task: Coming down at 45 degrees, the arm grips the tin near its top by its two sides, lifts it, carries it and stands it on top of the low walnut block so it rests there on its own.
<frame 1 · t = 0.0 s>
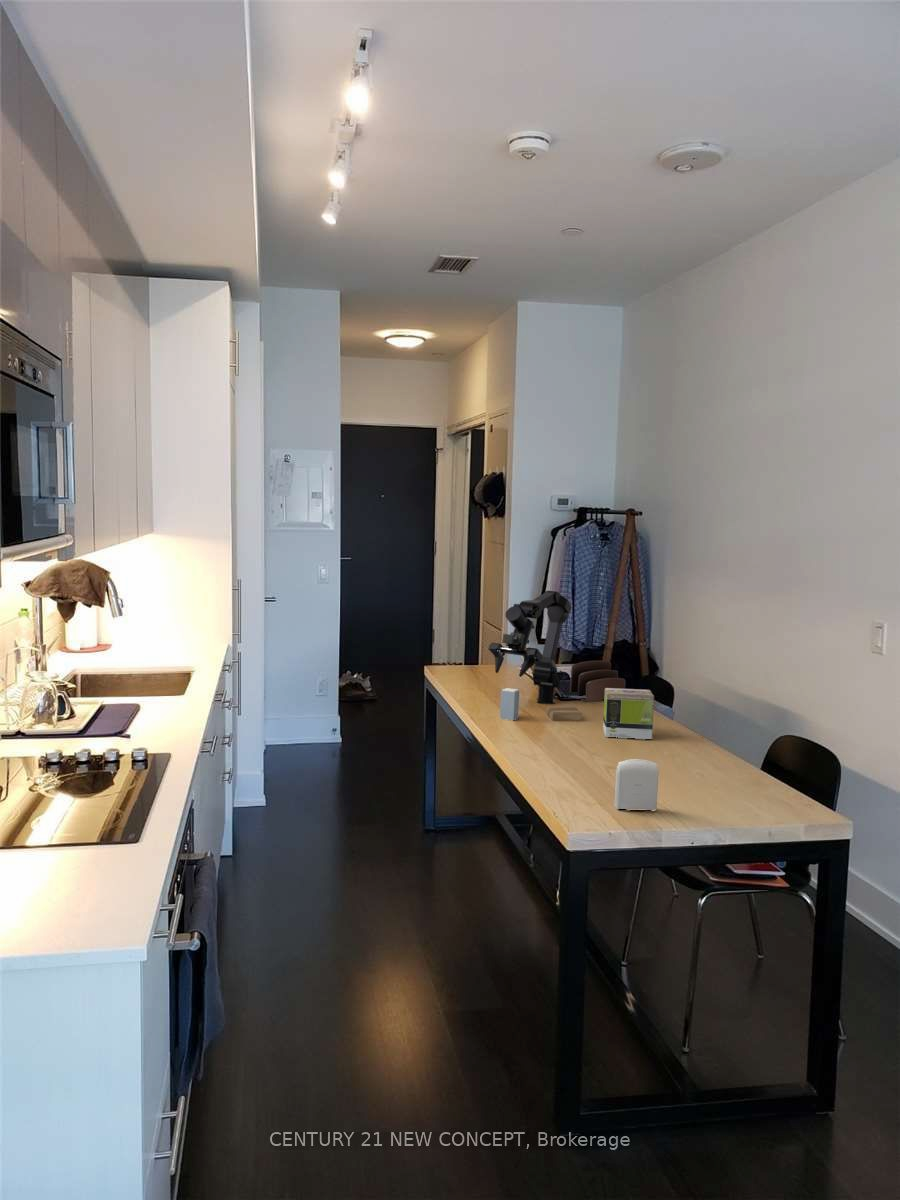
hand: (508, 674, 304), 15 cm above the table, tool tilted 35°, fingers open, 9 cm apart
tin: (508, 719, 303), on the table
block: (563, 718, 308), on the table
letter holder: (597, 698, 344), on the table
photo printer: (635, 810, 217), on the table
tea box: (626, 736, 288), on the table
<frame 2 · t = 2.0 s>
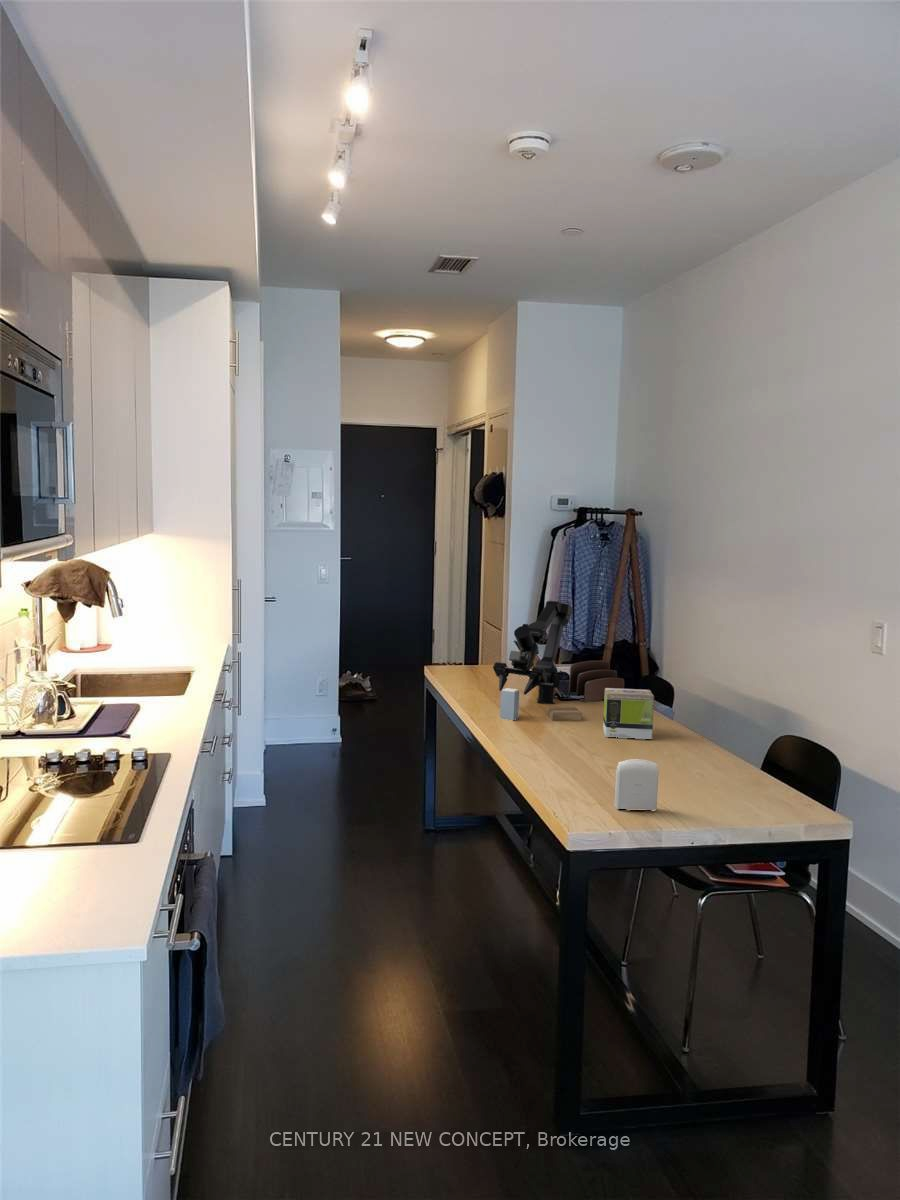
hand: (512, 692, 304), 9 cm above the table, tool tilted 45°, fingers open, 9 cm apart
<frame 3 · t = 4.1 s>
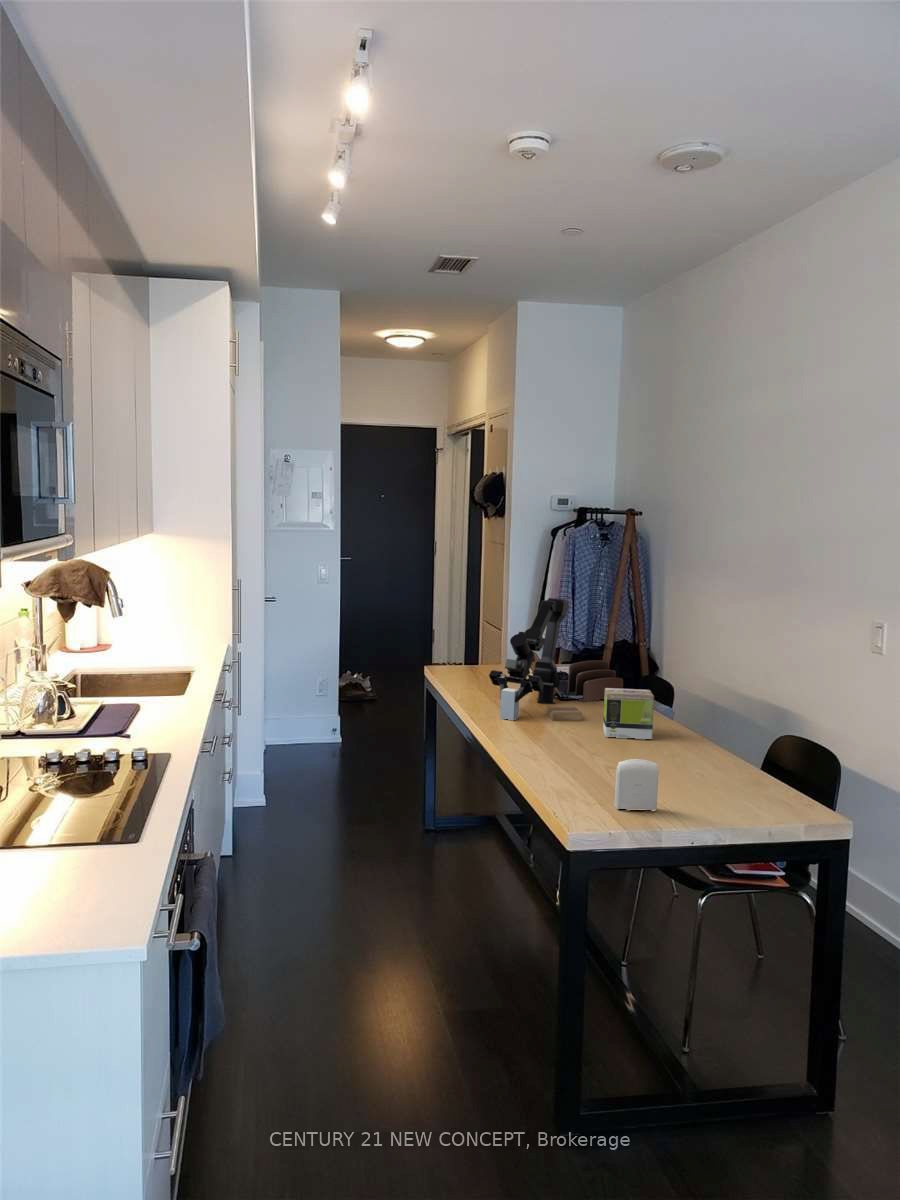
hand: (508, 700, 302), 7 cm above the table, tool tilted 45°, fingers closed on tin, 5 cm apart
tin: (508, 718, 303), on the table, touching gripper
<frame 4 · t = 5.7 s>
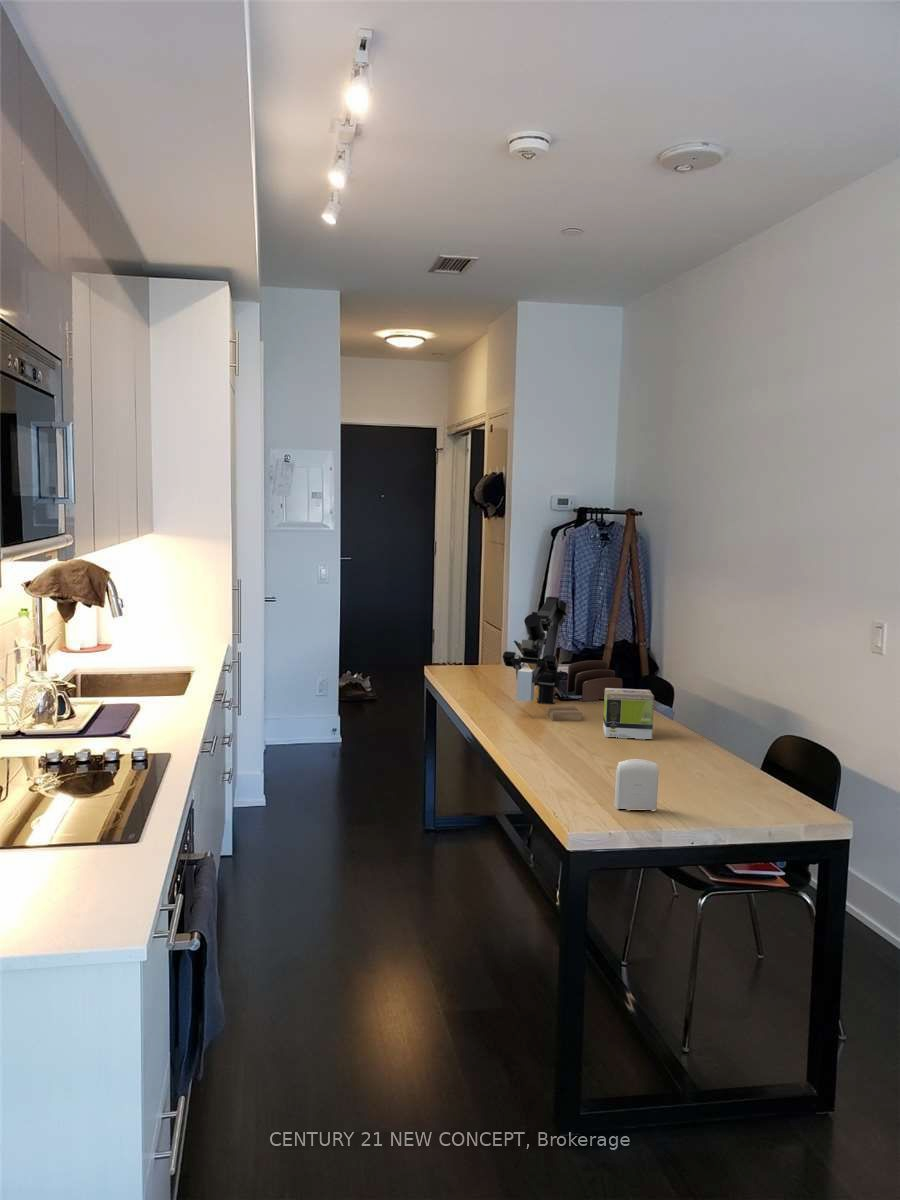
hand: (524, 681, 301), 13 cm above the table, tool tilted 45°, fingers closed on tin, 5 cm apart
tin: (525, 699, 303), point 7 cm above the table, touching gripper
when the fingers open (11 cm above the table, at t = 7.5 s): tin drops 1 cm, resting on block.
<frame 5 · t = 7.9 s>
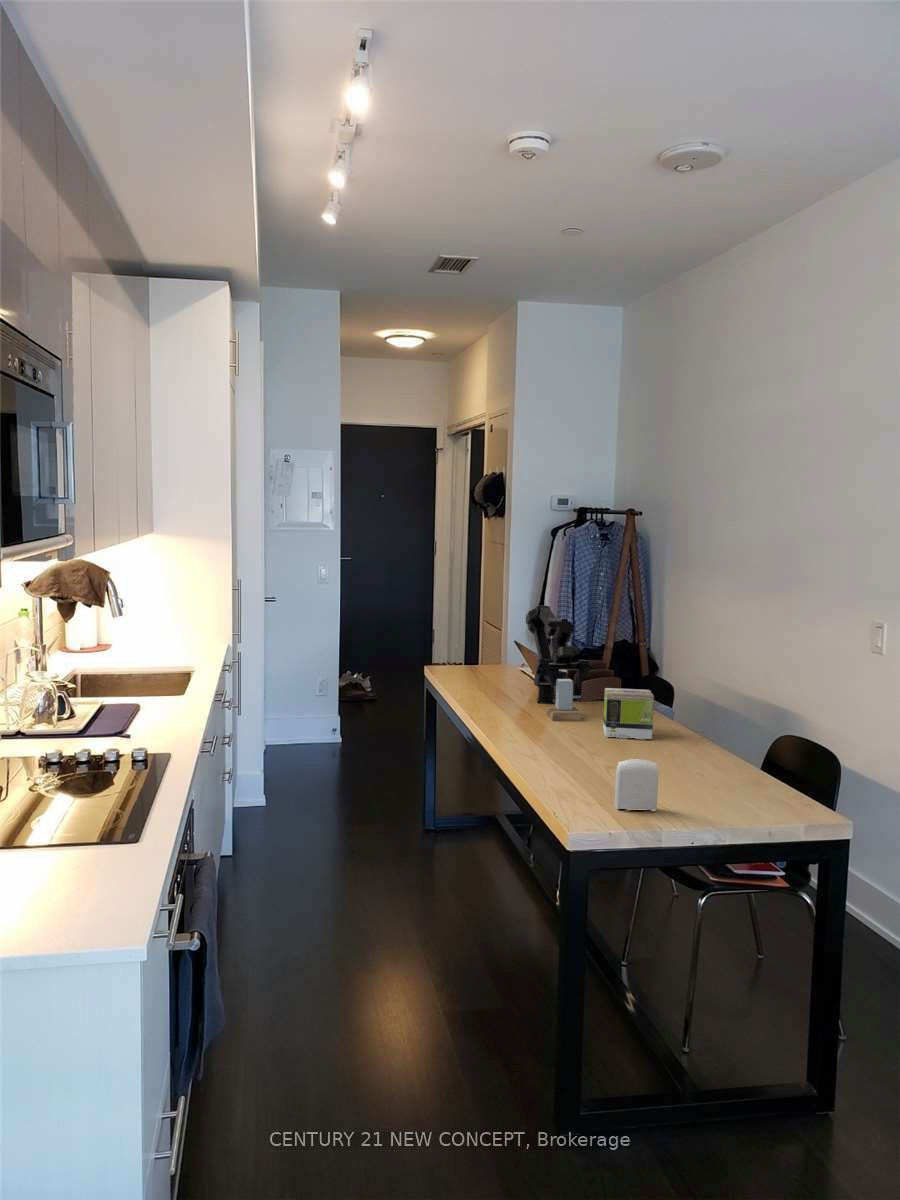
hand: (566, 687, 306), 11 cm above the table, tool tilted 45°, fingers open, 9 cm apart
tin: (563, 708, 308), point 3 cm above the table, touching block
block: (563, 719, 308), on the table, touching tin
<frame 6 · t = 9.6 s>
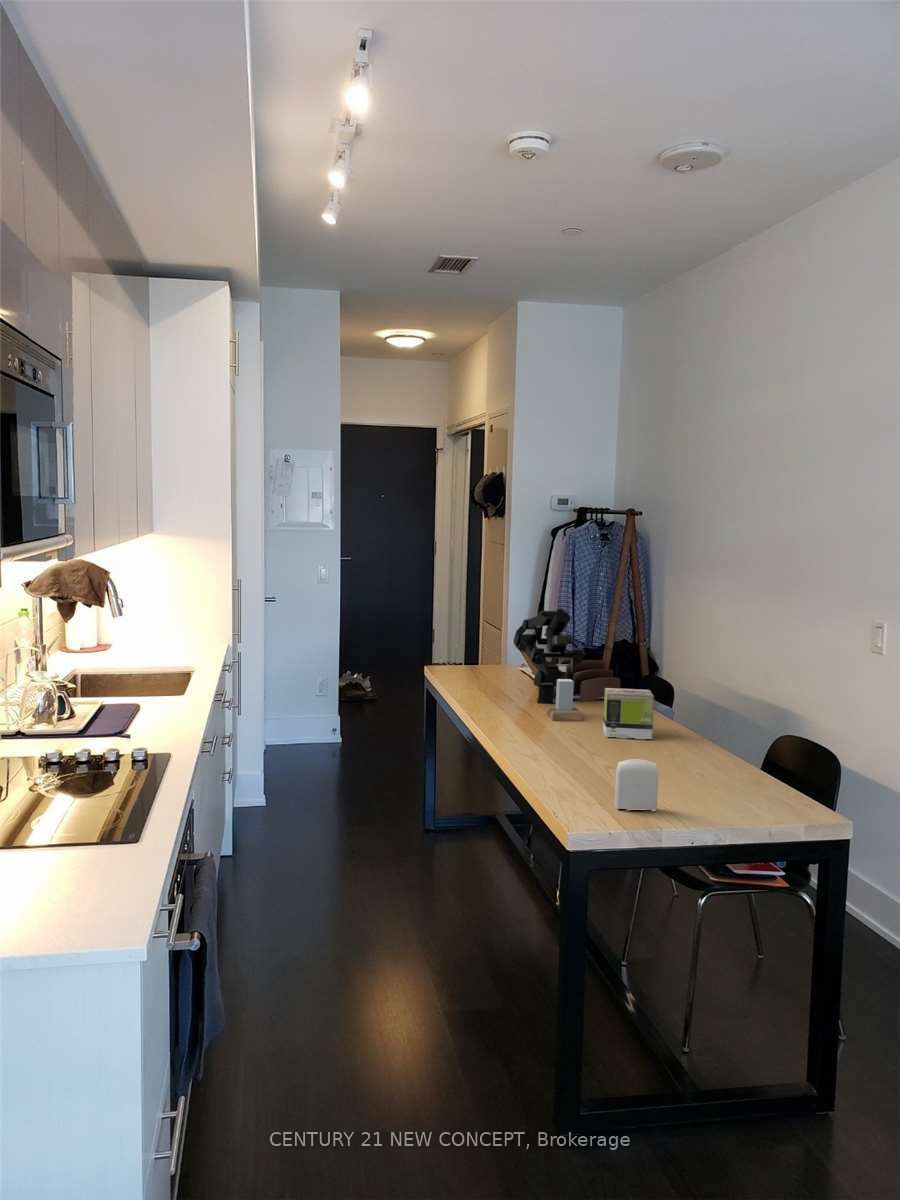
hand: (560, 675, 314), 14 cm above the table, tool tilted 45°, fingers open, 9 cm apart
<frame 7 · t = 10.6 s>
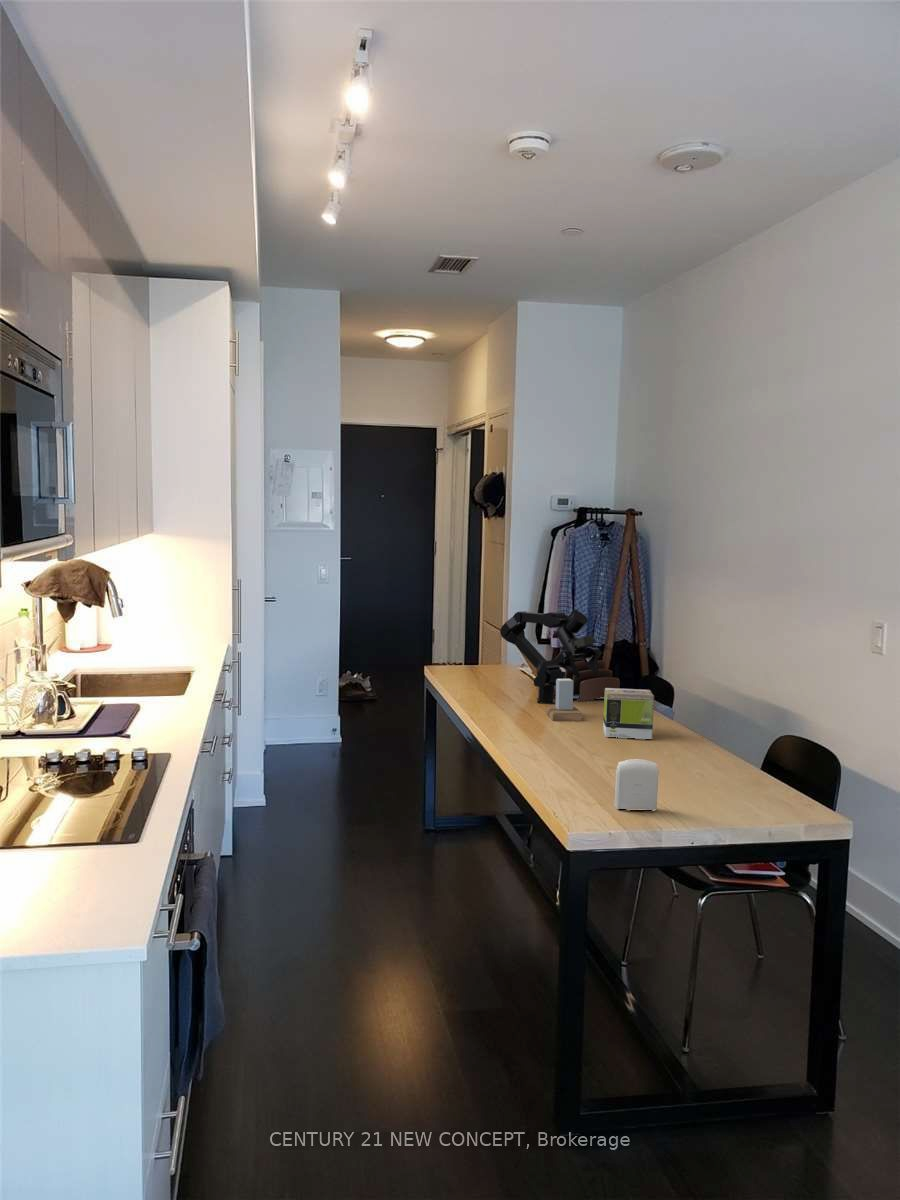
hand: (589, 676, 314), 14 cm above the table, tool tilted 45°, fingers open, 9 cm apart
tin: (564, 708, 308), point 3 cm above the table
block: (563, 719, 308), on the table
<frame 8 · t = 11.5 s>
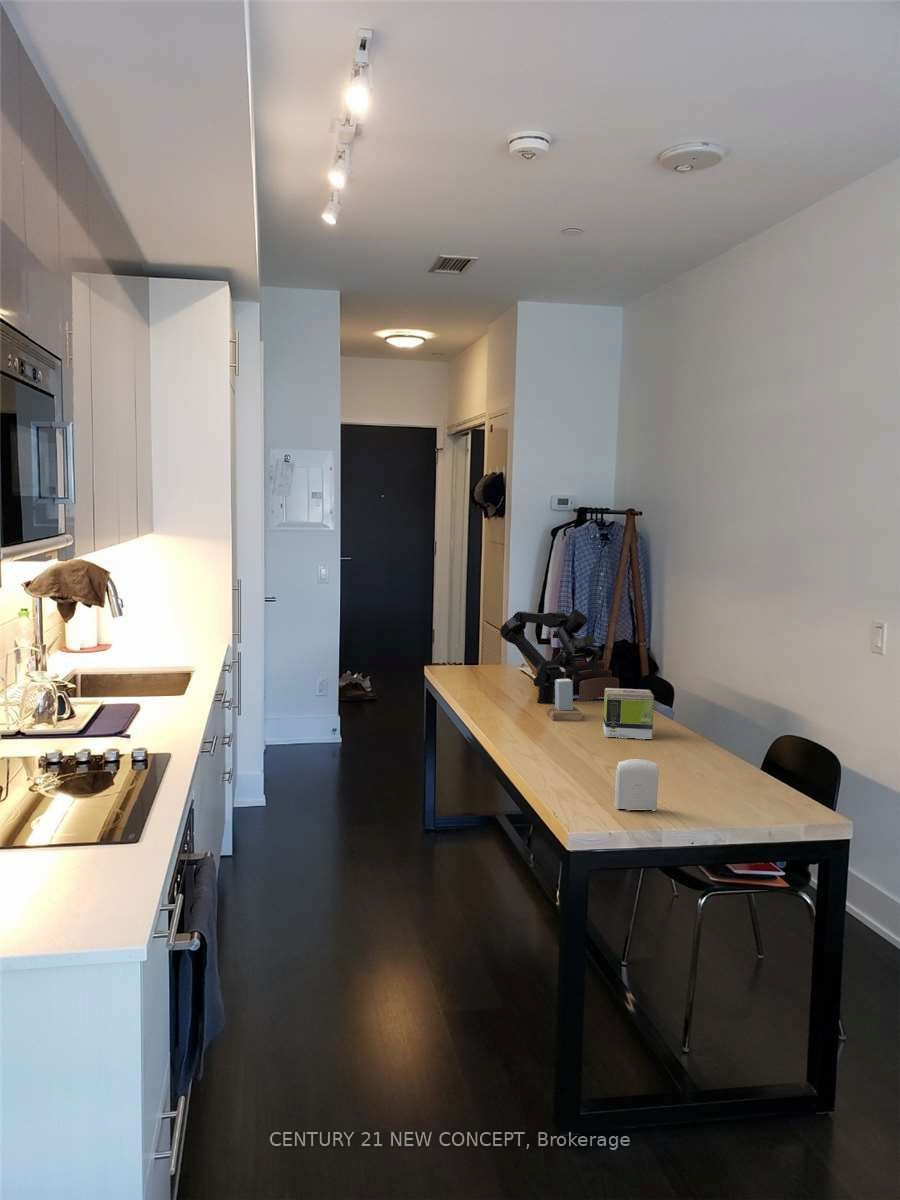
hand: (589, 676, 314), 14 cm above the table, tool tilted 45°, fingers open, 9 cm apart
tin: (564, 708, 308), point 3 cm above the table, touching block
block: (563, 719, 308), on the table, touching tin
at the end: tin inside the target area on the block (0.1 cm from its centre), point 3.7 cm above the block's base; tin tilted 3°; the gripper is holding nothing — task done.
